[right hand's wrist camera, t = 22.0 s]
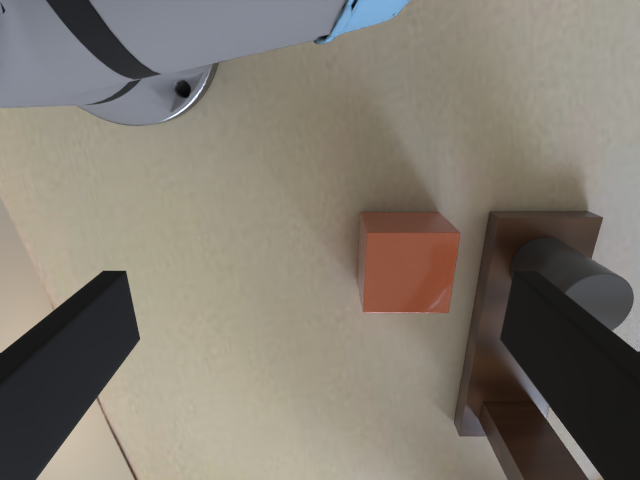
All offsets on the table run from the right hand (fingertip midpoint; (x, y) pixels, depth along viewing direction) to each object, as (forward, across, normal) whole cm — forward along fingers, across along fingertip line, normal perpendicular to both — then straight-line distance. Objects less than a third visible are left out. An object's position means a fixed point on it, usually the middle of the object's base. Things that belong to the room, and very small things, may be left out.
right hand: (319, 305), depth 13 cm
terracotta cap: (+25, +8, -8) cm, 27 cm away
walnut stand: (+25, +22, -18) cm, 38 cm away
